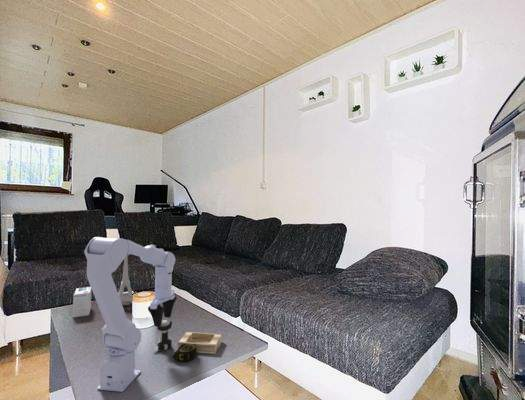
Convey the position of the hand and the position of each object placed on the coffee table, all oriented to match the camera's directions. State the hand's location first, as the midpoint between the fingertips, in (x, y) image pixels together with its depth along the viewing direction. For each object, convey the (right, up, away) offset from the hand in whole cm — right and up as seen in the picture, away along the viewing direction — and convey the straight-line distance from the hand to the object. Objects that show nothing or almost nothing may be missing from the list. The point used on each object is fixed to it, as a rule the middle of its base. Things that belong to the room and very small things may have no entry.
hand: (162, 321), depth 102 cm
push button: (0, -10, 0) cm, 10 cm away
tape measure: (+9, -11, -6) cm, 15 cm away
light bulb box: (-51, -10, +32) cm, 61 cm away
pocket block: (+13, -10, +2) cm, 17 cm away
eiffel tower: (-34, -11, +41) cm, 55 cm away
